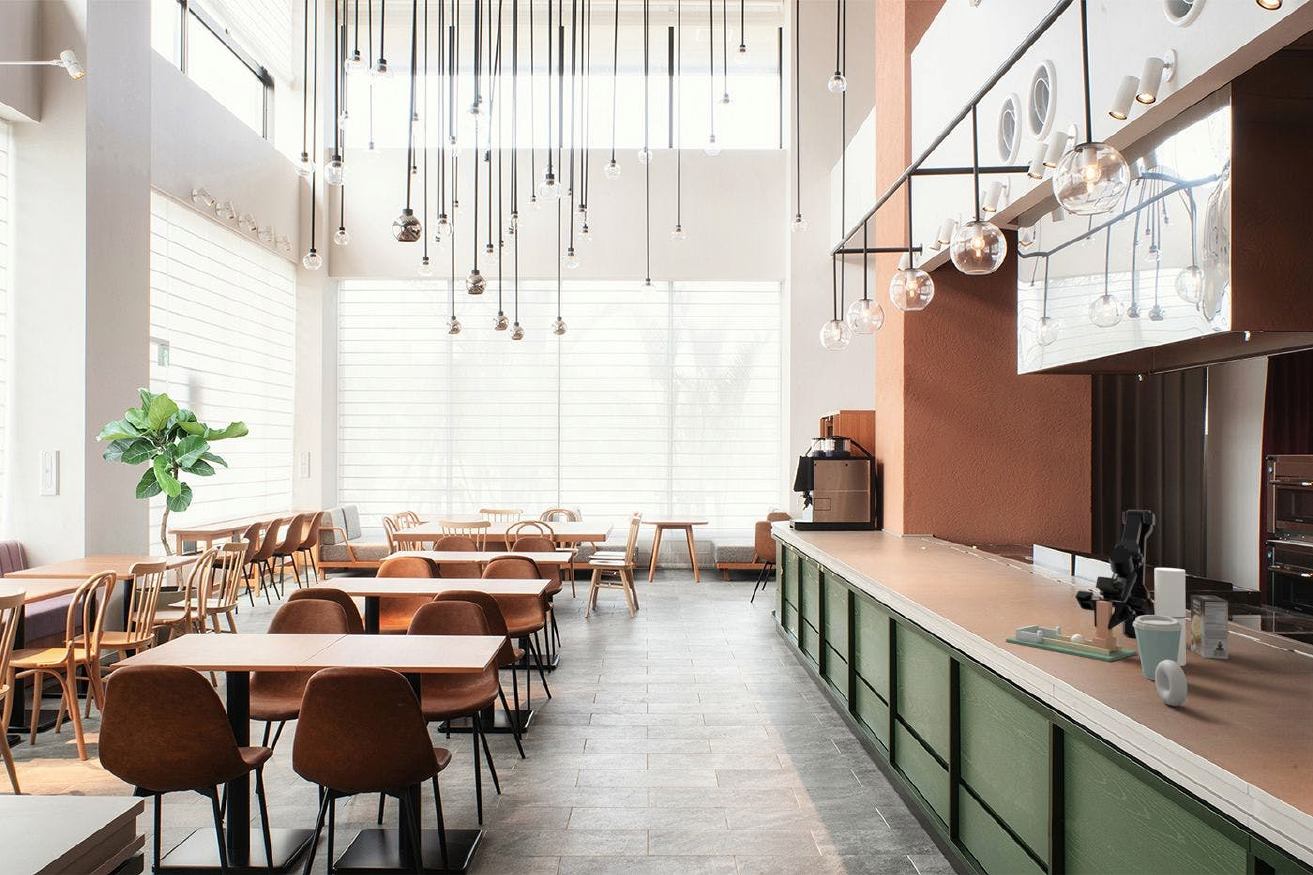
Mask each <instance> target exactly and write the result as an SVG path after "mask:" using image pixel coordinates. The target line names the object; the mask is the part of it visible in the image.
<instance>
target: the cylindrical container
mask: <svg viewBox="0 0 1313 875" xmlns="http://www.w3.org/2000/svg"><path fill="white" fill-rule="evenodd" d="M1154 608H1155V615H1159V616H1168V617H1171V618H1175V619H1176V620H1178V621H1179V624H1180V625H1182V629H1181V635H1180V643H1179V650H1178V658H1177V664H1178V665H1179V666H1180V667H1181V666H1182V667H1184V666H1187V648H1186V644H1187V642H1186V641H1187V640H1186V637H1187V632H1186V629H1187V628H1186V627H1187V626H1186V625H1187V624H1186V623H1187V622H1186V621H1187V620H1186V608H1187V607H1186V570H1185V569H1181V568H1175V567H1174V568H1173V567H1155V568H1154Z"/></svg>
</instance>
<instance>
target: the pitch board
mask: <svg viewBox="0 0 1313 875" xmlns="http://www.w3.org/2000/svg"><path fill="white" fill-rule="evenodd" d="M1071 638H1072V636H1070V635H1069V636H1068V635H1065V634H1064V635H1063V634H1061V635H1058V634H1056V635H1055V638H1049V637H1044V636H1043V644H1038V643H1034V642H1029V641H1023V640H1018V639H1016V636H1014V637H1010V638H1006V639H1005V641H1006V643H1011V644H1016V645H1021V646H1024V647H1025V646H1027V647H1032V648H1037V649H1042V650H1045V651H1046V650H1047V651H1052V652H1056V653H1062V654H1066V653H1067V655H1072V656H1077V655H1078V656H1077V657H1082V656H1083V658H1088V659H1092V660H1098V661H1103V662H1108V663H1110V662H1113V661H1116V660H1120V659H1124V658H1127V656H1128V657H1130V656H1134V654H1135V655H1137V653H1138V651H1137V650H1133V649H1129V648H1124V646H1123V645H1120V644H1116V650H1115V651H1111V652H1110V650H1109V649H1104V648H1098V647H1093V639H1092V640H1091V639H1085V638H1084V639H1085V643H1084V645H1082V644H1076V643H1072V641H1071Z"/></svg>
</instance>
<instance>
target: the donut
mask: <svg viewBox="0 0 1313 875" xmlns="http://www.w3.org/2000/svg"><path fill="white" fill-rule="evenodd" d="M1154 682H1155V687H1156V691H1157V694H1158V695H1159V698H1160V699H1161V700H1162V701H1163V702H1164V703H1165V704H1167V705H1168V706H1172V707H1178V706H1181V705H1182V704H1184V702H1185V701H1186V699H1187V696H1188V680H1187V677H1186V675H1185V672H1184V670H1183V669H1182V667H1181V666H1179V665H1178V664H1177V663H1176V662H1174V661H1171V660H1164V661H1162V662H1160V663H1159V664H1158V666H1157V668H1156V672H1155V680H1154Z"/></svg>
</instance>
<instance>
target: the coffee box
mask: <svg viewBox="0 0 1313 875" xmlns="http://www.w3.org/2000/svg"><path fill="white" fill-rule="evenodd" d="M1228 618H1229V601H1228V600H1226V599H1224V598H1221V597H1218V596H1217V595H1207V594H1205V595H1202V594H1190V650H1191V651H1192V652H1193V653H1195V654H1197V655H1198V656H1201V657H1202V658H1204V659H1221V660H1222V659H1223V660H1228V659H1229V649H1228V648H1229V638H1228V637H1229V636H1228V635H1229V634H1228V633H1229V631H1228V630H1229V629H1228V628H1229V620H1228Z"/></svg>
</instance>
